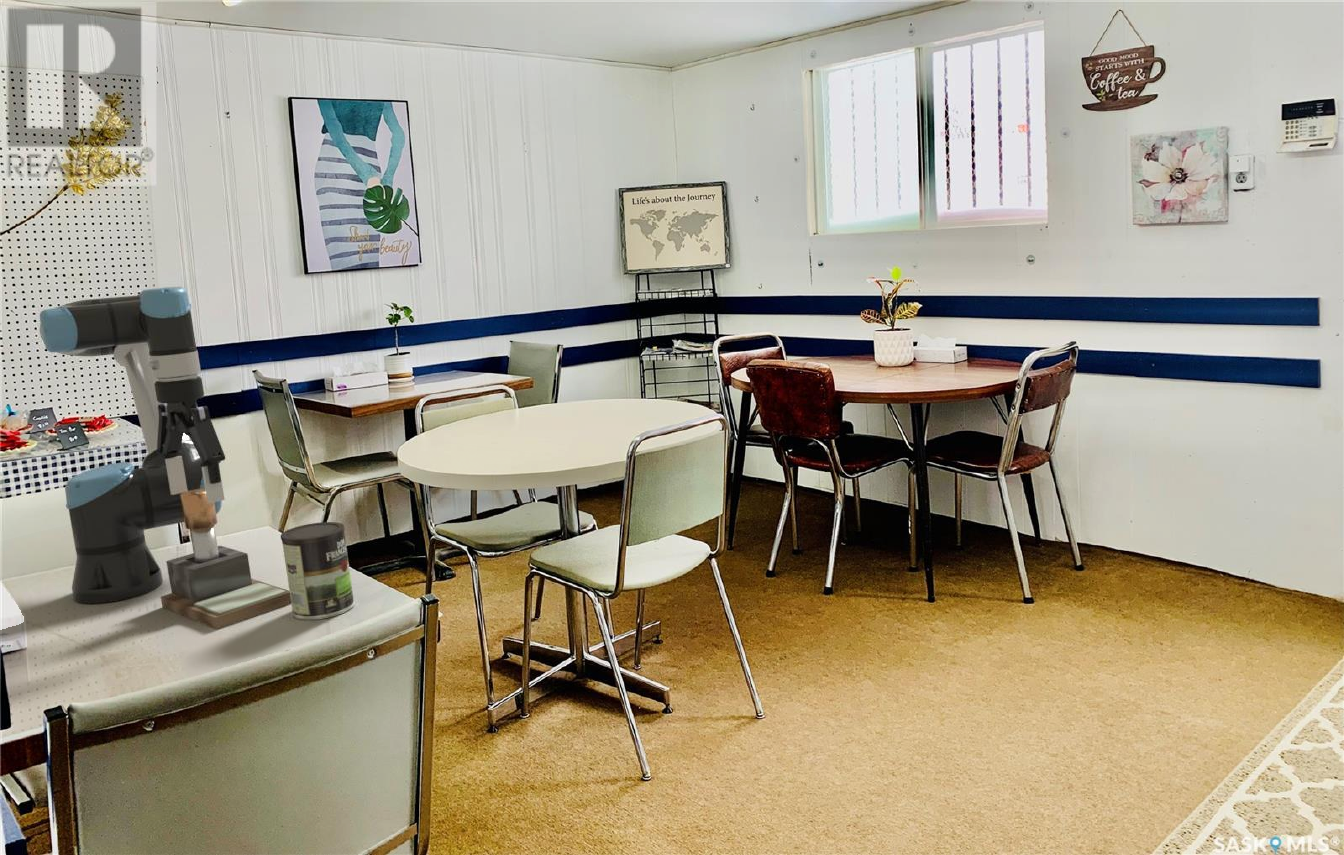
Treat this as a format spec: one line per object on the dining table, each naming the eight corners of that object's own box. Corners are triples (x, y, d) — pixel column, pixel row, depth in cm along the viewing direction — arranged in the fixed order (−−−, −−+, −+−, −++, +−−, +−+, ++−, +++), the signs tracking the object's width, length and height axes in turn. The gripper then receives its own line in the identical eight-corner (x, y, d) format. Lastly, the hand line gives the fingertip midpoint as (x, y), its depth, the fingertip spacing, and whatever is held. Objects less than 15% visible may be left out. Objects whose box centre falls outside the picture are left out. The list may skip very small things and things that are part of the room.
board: (162, 607, 191) (154, 564, 190) (236, 583, 202) (230, 542, 200) (217, 629, 179) (209, 583, 177) (293, 602, 189) (287, 558, 187)
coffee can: (365, 598, 188) (355, 520, 186) (336, 620, 178) (325, 539, 176) (312, 598, 190) (300, 521, 188) (280, 620, 181) (268, 539, 178)
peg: (191, 591, 193) (174, 494, 189) (218, 582, 197) (203, 487, 193) (205, 596, 189) (188, 497, 186) (233, 587, 193) (217, 490, 190)
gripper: (124, 378, 191) (144, 494, 195) (190, 384, 175) (210, 510, 179) (166, 371, 196) (185, 484, 200) (234, 377, 180) (253, 499, 184)
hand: (197, 497), depth 189 cm, fingers open, 13 cm apart
